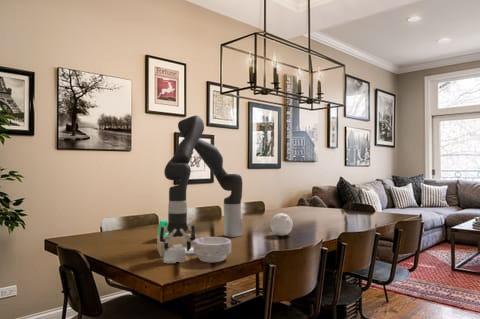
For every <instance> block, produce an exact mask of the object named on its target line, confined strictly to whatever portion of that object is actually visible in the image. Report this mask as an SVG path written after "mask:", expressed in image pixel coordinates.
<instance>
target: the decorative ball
mask: <svg viewBox="0 0 480 319" xmlns="http://www.w3.org/2000/svg"><path fill="white" fill-rule="evenodd" d="M293 225H294V224H293V219H292V217H290V216H289V214H286V213H282V212H281V213H277V214H275V215H274V216H272V218H271V220H270V229H271V230H272V233H274V234H275V235H276V236H281V237H284V236H286V235H288V234H289V233H291V231H292V230H293Z"/></svg>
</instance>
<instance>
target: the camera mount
mask: <svg viewBox="0 0 480 319" xmlns="http://www.w3.org/2000/svg"><path fill="white" fill-rule="evenodd" d="M158 223H159V224H158V230H157V236H160V227H161V226H163V227H167V226H168V219H166V220H165V219H161V220H159V222H158ZM168 234H169V232H166V231H165V232H164V235H163V236H167V235H168Z"/></svg>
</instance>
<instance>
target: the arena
mask: <svg viewBox="0 0 480 319" xmlns="http://www.w3.org/2000/svg"><path fill="white" fill-rule="evenodd" d="M186 234H187V235H188V237H189V238H190V237H191V233H186ZM166 237H167V236H163V239H165V238H166ZM197 237H198V234H197V233H195V239H198V238H197ZM159 239H160V236H158V235H157V236H156V249H157V252H158V254H159V257H160V258H164V242H160V240H159ZM193 242H194V240H192V241H191V248H190V249H189V251H187V239H186V238H185V237H184V235H183V236H182V237H179V236H177V237H173V236H172V237H171V239H170V240H169V241H168V248H173V245H176V244H181V245H182V246H183V247H184V248H185V256H189V255H190V256H192V255H195V254H194V249H193V247H194V244H193Z"/></svg>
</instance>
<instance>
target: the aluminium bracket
mask: <svg viewBox="0 0 480 319" xmlns="http://www.w3.org/2000/svg"><path fill="white" fill-rule="evenodd" d="M176 262H179V263H185V262H186V255H185V248H184V247H183V246H182V245H181V244H176V245H173V248H168V249H164V257H163V263H167V264H177V263H176Z"/></svg>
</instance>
